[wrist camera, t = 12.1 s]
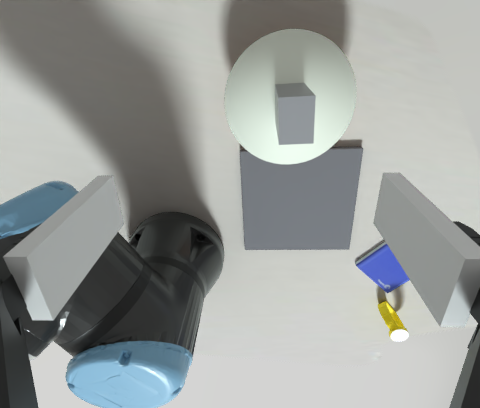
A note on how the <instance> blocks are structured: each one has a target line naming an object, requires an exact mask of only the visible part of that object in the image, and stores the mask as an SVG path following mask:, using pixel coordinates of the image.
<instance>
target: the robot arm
mask: <svg viewBox="0 0 480 408" xmlns="http://www.w3.org/2000/svg"><path fill="white" fill-rule="evenodd" d="M123 224H124V220H123V216H122V212H121V207H120V203H119V199H118V194H117V190H116V186H115V181H114V177H113V176H97V177H96V178H95V179H94V180H93V181H91V182H90V183H89V184H88V185H87V186H86V187H84V188H83V189H82V190H81V191H80V192H78V191H77V190H76V189H75V188H74V187H73V186H71V185H70V184H68V183H66V182H62V181H52V182H47V183H45V184H42V185H40V186H38V187H35V188H33V189H31V190H29V191H27V192H25V193H23V194H21V195H19V196H17V197H15V198H13V199H11V200H9V201H7V202H5V203H3V204H1V205H0V408H38V403H37V398H36V392H35V387H34V383H33V377H32V371H31V366H30V360H34V359H35V358H36V357H37V356H38V355H39V354H40V353H41V352H42V351H43V350H44V349H45V348H46V347H47V346H48V345H49V344H50V343H51V342H52V341H54V342H55V343H57V344H58V345H59V346H61V347H62V348H63V349H64V350H66V351H67V352H68V353H69V354H70V355H72V356H73V359H71V360H70V362H69V364H68V366H67V372H66V381H67V382H68V387H69V389H70V390H71V391H72V392H73V393H74V394H75V395H76V396H77V397H79V398H81V399H82V400H84V401H86V402H88V403H90V404H93V405H96V406H98V407H102V408H157V407H160V406H162V405H165V404H167V403H168V402H170V401H171V400H172V399H174V398H175V397H176V396H177V395H178V394H179V392H180V391H181V389H182V387H183V385H184V383H185V379H186V376H187V372H188V369H189V366H190V365H191V363H192V357H193V352H194V347H195V342H196V337H197V332H198V327H199V321H200V316H201V311H202V306H203V301H204V298H205V296H206V295H207V294H208V292H209V291H210V289H211V288H212V287H213V285H214V284H215V283H216V281H217V280H218V278H219V276H220V274H221V271H222V267H223V261H224V250H223V246H222V243H221V241H220V239H219V237H218V235H217V234H216V233H215V232H214V230H213V229H212V228H211V227H210V226H208V225H207V224H206V223H204V222H203V221H201V220H200V219H198V218H195V217H193V216H190V215H187V214H183V213H175V212H168V213H161V214H157V215H154V216H152V217H150V218H148V219H146V220H145V221H143V222H142V223H141V224H140V225H139V226H138V228H137V229H136V231H135V232H134V234H133V235H132V237H131V239H130V242H129V243H128V242H127V241H126V240H125V239H124V238H123V237H122V236H121V235H120V234H119V232H118V231H119V230H120V228H121V227H122V226H123ZM374 225H375V226H376V228H377V229H378V231H379V232H380V234H381V235H382V237H383V239H384V240H385V242H386V243H387V245H388V246H389V248H390V250H391V251H392V253H393V254H394V256H395V257H396V259H397V260H398V262H399V264H400V265H401V267H402V268H403V270H404V271H405V273H406V274H407V276H408V278H409V279H410V281H411V282H412V284H413V285H414V287H415V289H416V290H417V292H418V293H419V295H420V296H421V298H422V299H423V301H424V303H425V304H426V306H427V307H428V309H429V310H430V312H431V314H432V315H433V317H434V318H435V320H436V321H437V323H438V324H439V326H440V327H465V325H466V322H467V320H468V318H469V315H470V313H471V315H472V316H473V317H474V319H475V320H476V321H477V322H478V325H477V327H476V330H475V332H474V334H473V336H472V339H471V341H470V343H469V345H468V348H469V350H468V353H467V356H466V359H465V363H464V365H463V368H462V371H461V375H460V377H459V380H458V383H457V386H456V389H455V393H454V396H453V399H452V401H451V405H450V408H480V235H479V234H478V233H477V232H475V231H474V230H473V229H472V228H470V227H468V226H466V225H464V224H462V223H460V222H452V221H451V220H450V219H449V218H448V217H447V216H446V215H445V214H444V213H443V212H442V211H440V210H439V209H438V208H437V207H436V206H435V205H434V204H433V203H432V202H431V201H430V200H429V199H427V198H426V197H425V196H424V195H423V194H422V193H421V192H420V191H419V190H418V189H417V188H416V187H414V186H413V185H412V184H411V183H410V182H409V181H408V180H407V179H406V178H405V177H404V176H403V175H401V174H400V173H383V176H382V181H381V186H380V191H379V197H378V202H377V207H376V212H375V217H374Z"/></svg>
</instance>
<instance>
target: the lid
mask: <svg viewBox="0 0 480 408" xmlns="http://www.w3.org/2000/svg"><path fill="white" fill-rule="evenodd" d="M224 102H225V113H226V117H227V121H228V124H229V126H230V129H231V131H232V133H233V134H234V136H235V138H236V139H237V140H238V142H239V143H240V144H241V145H242V146H243V147H244V148H245V149H246V150H247V151H248V152H250V153H251V154H252V155H254V156H256V157H258V158H260V159H262V160H264V161H267V162H271V163H275V164H288V165H289V164H298V163H302V162H306V161H309V160H311V159H314V158H316V157H318V156H320V155H321V154H323V153H324V152H326V151H327V150H328V149H330V148H331V147H332V146H333V145H334V144H335V143H336V142H337V141H338V140H339V139H340V137H341V136H342V135H343V133H344V132H345V130H346V129H347V127H348V125H349V123H350V121H351V118H352V116H353V112H354V109H355V103H356V81H355V77H354V72H353V70H352V67H351V65H350V63H349V61H348V59H347V57H346V56H345V54H344V53H343V52H342V50H341V49H340V48H339V47H338V46H337V45H336V44H335V43H334V42H332V41H331V40H329V39H328V38H327V37H325V36H323V35H321V34H319V33H316V32H313V31H310V30H304V29H285V30H279V31H276V32H273V33H270V34H268V35H266V36H263V37H262V38H260V39H258V40H257V41H255V42H254V43H253V44H251V45H250V46H249V47H248V48H247V49H246V50H245V51H244V52H243V53H242V54H241V55H240V57H239V58H238V60H237V61H236V63H235V64H234V66H233V68H232V70H231V72H230V75H229V77H228V80H227V84H226V88H225V97H224Z"/></svg>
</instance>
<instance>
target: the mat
mask: <svg viewBox="0 0 480 408" xmlns="http://www.w3.org/2000/svg"><path fill="white" fill-rule="evenodd" d="M362 153H363V148H362V147H331V148H330V149H328V150H327V151H326V152H324V153H323V154H321V155H320V156H318V157H316V158H314V159H311V160H309V161H306V162H302V163H298V164H289V165H288V164H275V163H271V162H267V161H264V160H262V159H260V158H258V157H256V156H254V155H252V154H251V153H250V152H248V151H247V150H240V164H241V184H242V203H243V223H244V242H245V250H328V249H349V247H350V240H351V233H352V225H353V218H354V211H355V204H356V197H357V189H358V182H359V175H360V168H361V161H362Z"/></svg>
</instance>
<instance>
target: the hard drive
mask: <svg viewBox="0 0 480 408" xmlns="http://www.w3.org/2000/svg"><path fill="white" fill-rule="evenodd" d="M355 264H356V266H357V267H358V268H359V269H360V270H361V271H362V272H364V273H365V274H366V275H367V276H368V277H369V278H370V279H372V280H373V281H374V282H375V283H376V284H377V285H378V286H379V287H381V288H382V289H383V290H384V291H385V292H386V293H389V292H391V291H392V290H394V289H396V288H397V287H399V286H400V285H402V284H404V283H405V282H407V281H409V280H410V279H409V278H408V276H407V274H406V273H405V271H404V270H403V268H402V267H401V265H400V264H399V262H398V260H397V259H396V257H395V256H394V254H393V253H392V251H391V250H390V248H389V246H388V245H387V243H386V242H384V243H382V244H381V245H379V246H378V247H377V248H375V249H374V250H372V251H371V252H369V253H368V254H367V255H365V256H364V257H362V258H361V259H359V260H358V261H357V262H355Z"/></svg>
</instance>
